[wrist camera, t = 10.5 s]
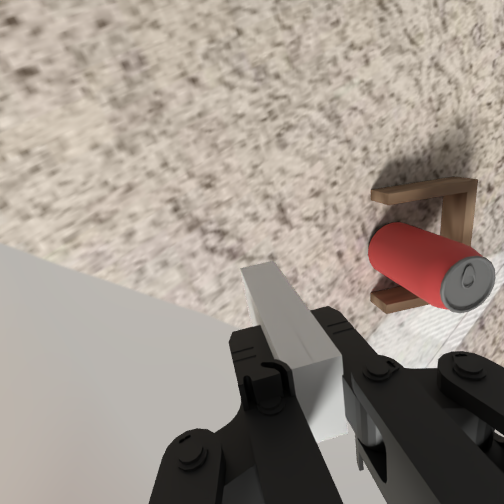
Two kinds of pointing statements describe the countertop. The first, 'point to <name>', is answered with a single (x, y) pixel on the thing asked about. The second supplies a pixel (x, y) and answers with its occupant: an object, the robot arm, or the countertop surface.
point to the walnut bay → (452, 224)
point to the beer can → (432, 266)
